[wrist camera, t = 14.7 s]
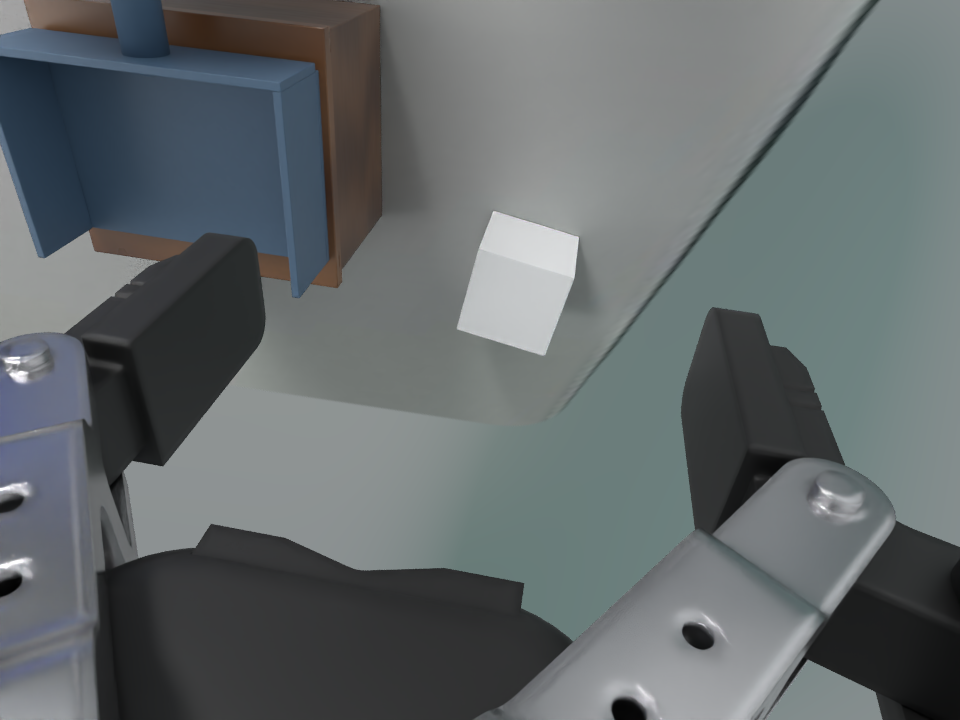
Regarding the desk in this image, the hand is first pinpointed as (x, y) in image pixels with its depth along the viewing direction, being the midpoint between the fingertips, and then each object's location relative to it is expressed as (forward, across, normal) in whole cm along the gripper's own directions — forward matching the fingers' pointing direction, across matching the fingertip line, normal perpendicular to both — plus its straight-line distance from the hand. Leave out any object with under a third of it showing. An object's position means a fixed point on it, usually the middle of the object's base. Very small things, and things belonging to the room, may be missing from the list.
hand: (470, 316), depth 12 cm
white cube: (+32, +1, +15) cm, 36 cm away
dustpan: (+22, +18, +1) cm, 29 cm away
